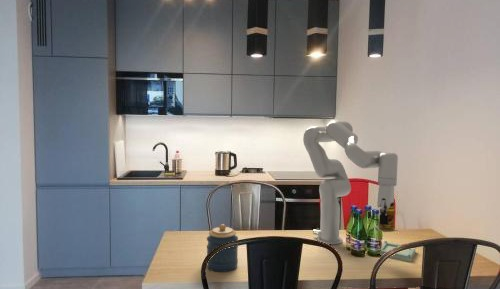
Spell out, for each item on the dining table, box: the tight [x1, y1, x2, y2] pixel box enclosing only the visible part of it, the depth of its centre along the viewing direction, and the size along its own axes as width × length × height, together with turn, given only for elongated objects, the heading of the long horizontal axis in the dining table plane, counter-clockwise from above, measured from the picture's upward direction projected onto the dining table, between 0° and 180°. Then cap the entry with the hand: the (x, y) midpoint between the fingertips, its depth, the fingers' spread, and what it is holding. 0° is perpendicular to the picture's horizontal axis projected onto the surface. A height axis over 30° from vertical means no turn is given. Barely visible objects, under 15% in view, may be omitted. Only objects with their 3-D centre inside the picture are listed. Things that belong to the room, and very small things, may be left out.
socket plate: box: [379, 240, 416, 262], centre depth 162 cm, size 14×14×3 cm
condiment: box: [372, 202, 399, 233], centre depth 152 cm, size 7×8×12 cm
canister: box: [206, 223, 239, 273], centre depth 145 cm, size 13×13×18 cm
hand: (385, 221), depth 152 cm, fingers closed on condiment, 6 cm apart
